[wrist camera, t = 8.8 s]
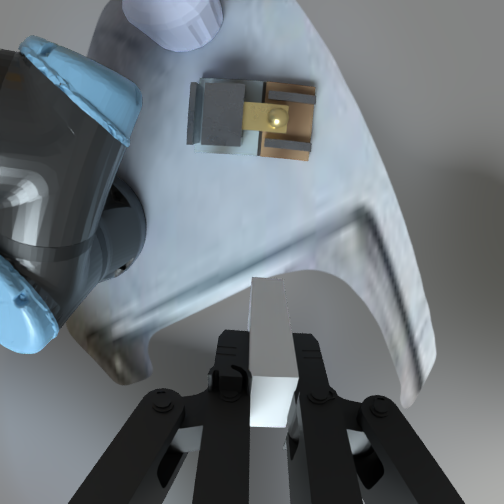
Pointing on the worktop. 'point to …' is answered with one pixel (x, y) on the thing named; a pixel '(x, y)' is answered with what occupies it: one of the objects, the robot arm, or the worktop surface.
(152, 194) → the worktop surface
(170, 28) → the soap bottle
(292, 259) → the worktop surface
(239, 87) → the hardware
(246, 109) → the bolt
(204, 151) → the panel
